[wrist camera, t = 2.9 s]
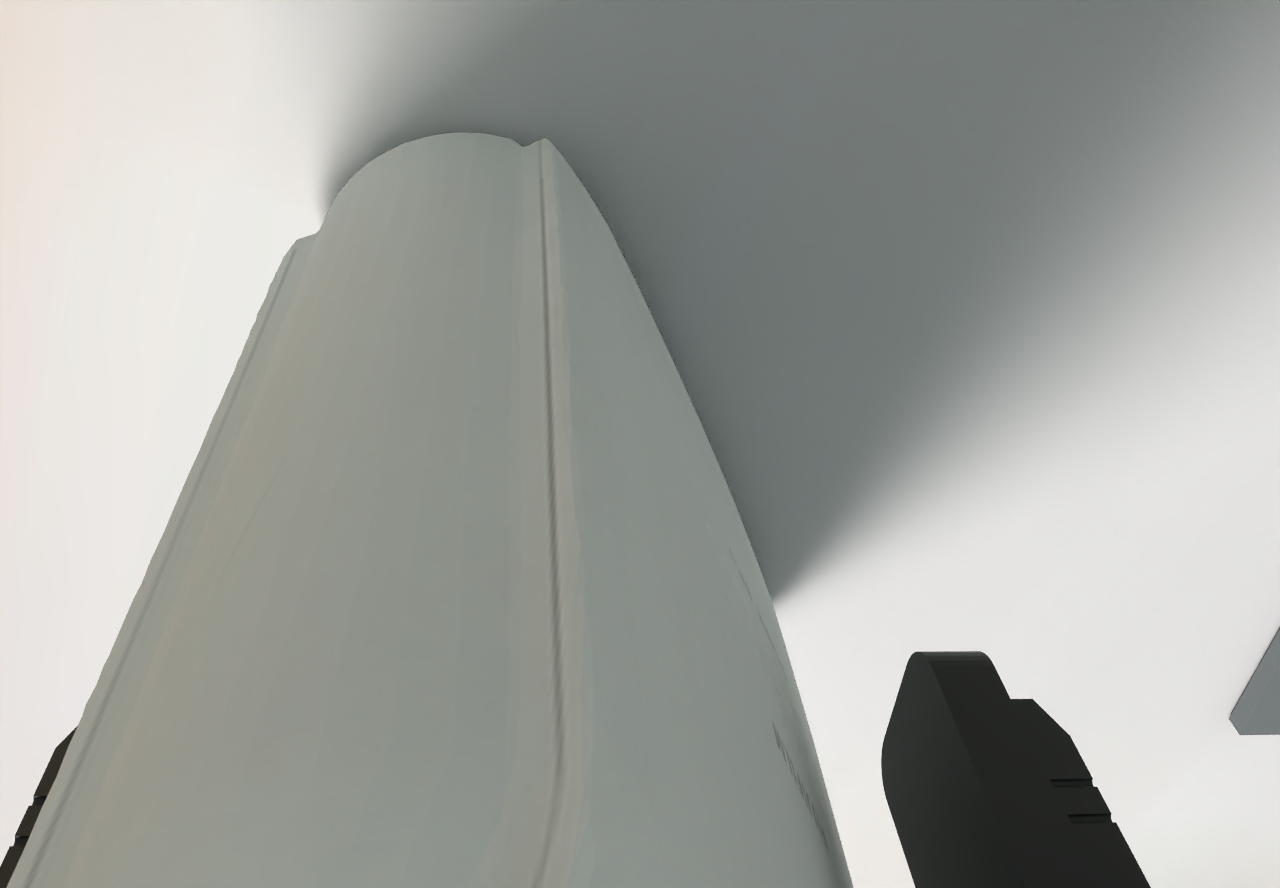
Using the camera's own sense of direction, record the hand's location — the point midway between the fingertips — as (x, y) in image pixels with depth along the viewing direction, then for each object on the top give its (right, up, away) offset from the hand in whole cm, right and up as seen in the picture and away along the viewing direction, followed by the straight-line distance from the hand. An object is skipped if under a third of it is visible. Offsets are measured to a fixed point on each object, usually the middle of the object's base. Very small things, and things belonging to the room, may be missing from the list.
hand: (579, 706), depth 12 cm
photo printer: (0, +3, +4) cm, 5 cm away
